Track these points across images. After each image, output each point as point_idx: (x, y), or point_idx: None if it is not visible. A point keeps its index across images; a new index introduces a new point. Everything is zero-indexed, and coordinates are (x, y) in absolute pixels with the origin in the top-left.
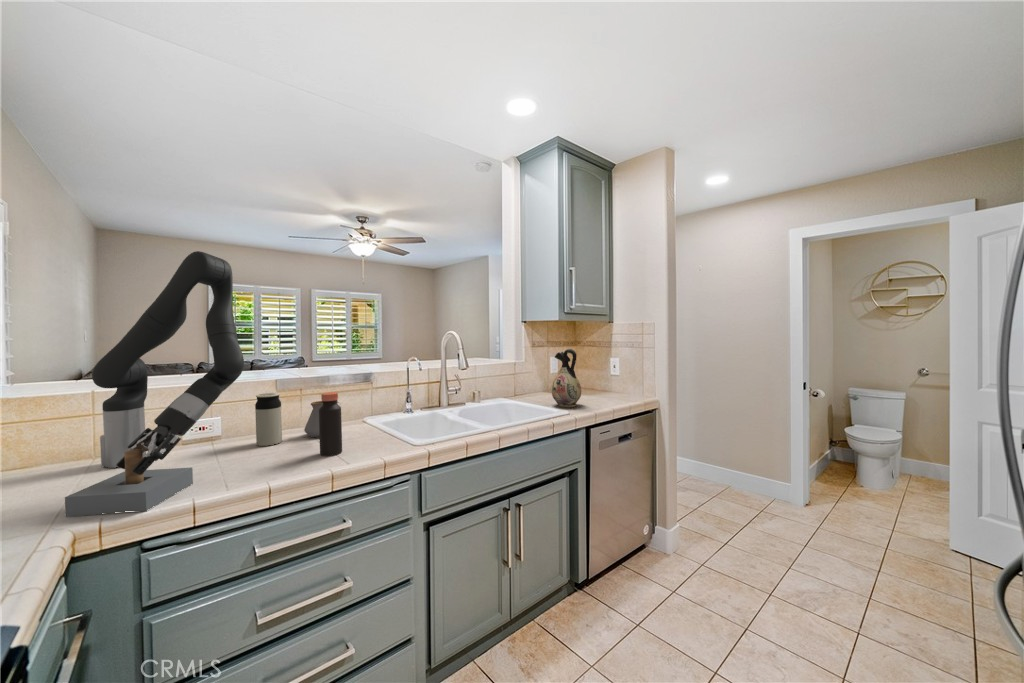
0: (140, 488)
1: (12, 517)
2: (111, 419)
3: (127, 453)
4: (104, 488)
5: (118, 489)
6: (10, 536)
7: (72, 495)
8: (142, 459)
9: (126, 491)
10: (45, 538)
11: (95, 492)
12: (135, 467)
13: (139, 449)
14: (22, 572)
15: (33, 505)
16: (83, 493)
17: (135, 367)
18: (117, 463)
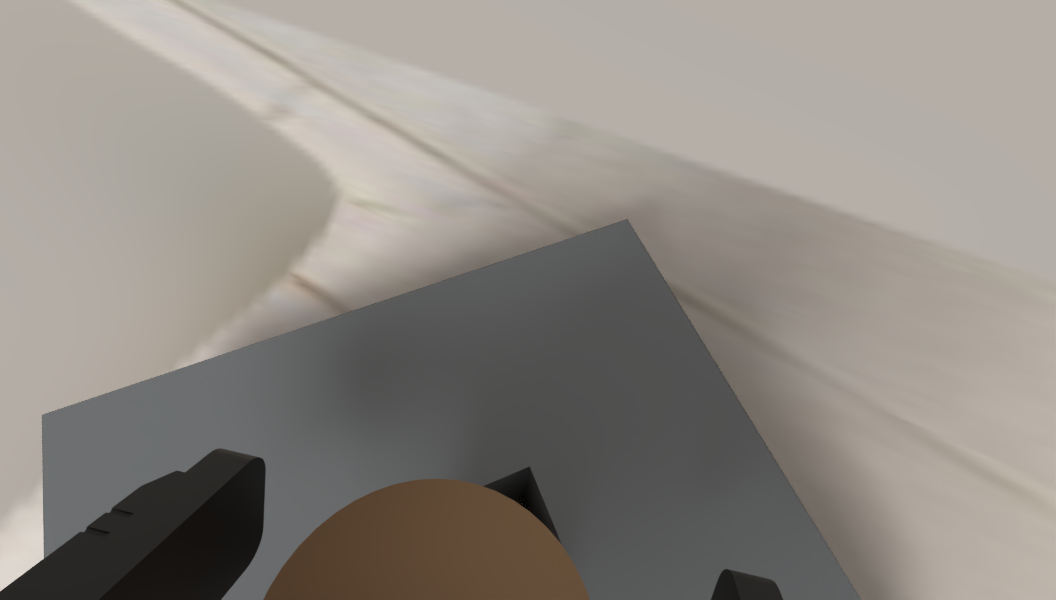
0: (177, 466)
1: (884, 235)
2: None
3: (388, 488)
4: (537, 389)
5: (380, 403)
6: (591, 130)
7: (613, 246)
8: (98, 575)
9: (252, 386)
10: (406, 145)
11: (507, 316)
12: (192, 469)
13: None
14: (187, 13)
15: (1033, 352)
16: (578, 284)
17: None
18: (765, 588)
